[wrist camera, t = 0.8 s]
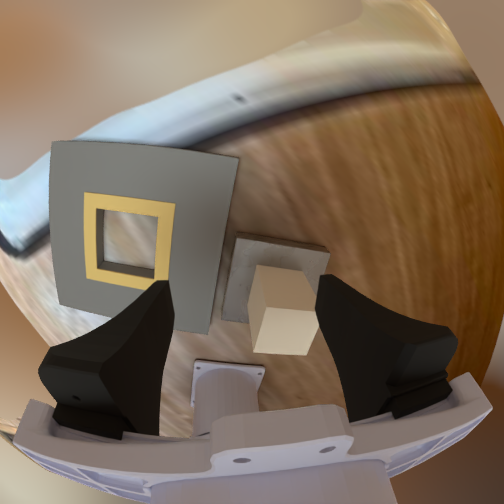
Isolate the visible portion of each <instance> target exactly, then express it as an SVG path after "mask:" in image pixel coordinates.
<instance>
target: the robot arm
mask: <svg viewBox="0 0 504 504" xmlns="http://www.w3.org/2000/svg"><path fill="white" fill-rule="evenodd" d="M315 312H316V316H317V320H318V323H319V326H320V329H321V331H322V333H323V336H324V338H325V340H326V342H327V345H328V347H329V349H330V352H331V354H332V356H333V358H334V361H335V364H336V367H337V370H338V374H339V377H340V381H341V385H342V389H343V393H344V397H345V402H346V407H347V412H348V418H349V421H348V418H347V415H346V413H345V410H344V408H342V407H339V406H337V405H334V404H321V405H313V406H307V407H299V408H292V409H283V410H273V411H261V412H259V405H258V397H257V392H258V389H259V386H260V384H261V381H262V378H263V376H264V373H265V367H263V366H252V365H240V364H229V363H220V362H211V361H203V360H196V361H195V362H194V371H193V382H192V393H191V407H194V415H193V432H192V436H191V437H190V438H176V437H164V436H159V417H160V397H161V386H162V376H163V370H164V366H165V362H166V358H167V354H168V350H169V346H170V342H171V338H172V334H173V328H174V319H175V312H174V306H173V301H172V296H171V290H170V284H169V280H156V281H155V282H154V283H153V284H152V285H151V286H150V287H149V288H147V289H146V290H145V291H144V292H143V293H142V294H141V295H140V296H139V297H138V298H137V299H136V300H135V301H133V302H132V303H131V304H130V305H129V306H127V307H126V308H125V309H124V310H123V311H122V312H120V313H119V314H118V315H116V316H115V317H114V318H112V319H111V320H109V321H108V322H106V323H105V324H103V325H101V326H99V327H98V328H96V329H94V330H92V331H91V332H89V333H87V334H85V335H83V336H80V337H78V338H76V339H73V340H71V341H68V342H65V343H62V344H59V345H56V346H53V347H50V349H49V350H48V352H47V354H46V356H45V358H44V359H43V361H42V363H41V365H40V367H39V369H38V374H39V377H40V379H41V381H42V383H43V384H44V386H45V387H46V388H47V390H48V391H49V393H50V394H51V395H52V396H53V398H54V399H55V400H56V402H57V405H56V408H53V407H52V406H50V405H48V404H45V403H43V402H40V401H37V400H34V399H30V401H29V403H28V405H27V407H26V409H25V412H24V414H23V416H22V419H21V421H20V424H19V426H18V429H17V431H16V434H15V437H14V439H13V444H14V445H15V446H17V447H18V448H19V449H20V450H21V451H23V452H24V453H25V454H26V455H28V456H29V457H30V458H31V459H33V460H34V461H35V462H37V463H38V464H39V465H41V466H42V467H44V468H45V469H47V470H49V471H51V472H54V473H56V474H58V475H61V476H63V477H66V478H68V479H71V480H73V481H76V482H78V483H81V484H83V485H87V486H89V487H92V488H95V489H97V490H100V491H103V492H107V493H110V494H113V495H116V496H120V497H123V498H127V499H131V500H135V501H140V502H143V503H148V504H397V501H396V498H395V495H394V492H393V489H392V486H391V483H390V480H389V478H391V477H393V476H395V475H397V474H400V473H402V472H404V471H406V470H408V469H410V468H412V467H413V466H416V465H418V464H420V463H421V462H423V461H425V460H427V459H429V458H431V457H432V456H434V455H436V454H438V453H439V452H441V451H443V450H445V449H446V448H448V447H449V446H451V445H453V444H455V443H456V442H458V441H459V440H461V439H463V438H464V437H465V436H466V435H467V434H468V433H469V432H470V431H472V430H473V429H474V428H475V427H476V426H477V425H478V424H479V423H480V422H481V421H482V419H484V417H486V415H487V414H488V413H489V412H490V411H491V410H492V406H491V404H490V403H489V401H488V399H487V398H486V396H485V395H484V393H483V392H482V390H481V389H480V387H479V386H478V384H477V383H476V381H475V380H474V379H473V377H472V376H471V374H470V373H469V372H467V373H465V374H463V375H461V376H459V377H457V378H455V379H453V380H452V381H450V382H449V383H448V382H447V380H446V378H447V376H448V373H447V372H446V370H445V368H446V367H447V365H448V363H449V362H450V360H451V359H452V357H453V355H454V353H455V351H456V349H457V345H458V339H457V338H456V336H455V335H454V334H453V332H452V331H451V330H450V329H449V328H448V327H446V326H441V325H435V324H430V323H426V322H422V321H419V320H415V319H412V318H409V317H406V316H404V315H401V314H398V313H396V312H394V311H392V310H389V309H387V308H385V307H383V306H381V305H379V304H378V303H376V302H374V301H372V300H371V299H369V298H367V297H366V296H364V295H363V294H361V293H359V292H358V291H356V290H355V289H353V288H352V287H350V286H349V285H348V284H346V283H345V282H343V281H342V280H340V279H339V278H337V277H336V276H334V275H332V274H327V275H320V277H319V284H318V290H317V297H316V303H315ZM260 372H261V373H260Z"/></svg>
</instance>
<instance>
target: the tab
mask: <svg viewBox="0 0 504 504" xmlns="http://www.w3.org/2000/svg"><path fill="white" fill-rule="evenodd" d="M330 254H331V253H330V252H329V251H328V250H327V248H326V247H324V246H318V245H312V244H307V243H301V242H295V241H289V240H284V239H278V238H272V237H266V236H260V235H254V234H248V233H242V232H236V236H235V241H234V246H233V251H232V257H231V262H230V267H229V273H228V278H227V283H226V289H225V294H224V300H223V305H222V312H221V320H226V321H234V322H242V323H249V315H248V307H247V304H248V300H249V295H250V291H251V287H252V283H253V279H254V274H255V270H256V266H257V265H263V266H269V267H276V268H283V269H290V270H297V271H303V273H304V275H305V276H306V278H307V280H308V282H309V284H310V286H311V288H312V290H313V291H314V293H315V295H317V290H318V284H319V277H320V275H324V272H325V269H326V266H327V263H328V260H329V257H330Z"/></svg>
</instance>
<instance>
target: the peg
mask: <svg viewBox="0 0 504 504" xmlns="http://www.w3.org/2000/svg"><path fill="white" fill-rule="evenodd" d="M315 303H316V295H315V293H314V291H313V290H312V288H311V286H310V284H309V282H308V280H307V278H306V276H305V275H304V273H303V271H297V270H290V269H283V268H276V267H269V266H263V265H257V266H256V270H255V274H254V279H253V283H252V287H251V291H250V295H249V300H248V304H247V307H248V315H249V323H250V330H251V338H252V346H253V352H256V353H269V354H286V355H307V352H308V350H309V348H310V346H311V343H312V341H313V339H314V336H315V334H316V332H317V329H318V327H319V323H318V320H317V316H316V312H315Z"/></svg>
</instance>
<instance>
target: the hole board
mask: <svg viewBox="0 0 504 504" xmlns="http://www.w3.org/2000/svg"><path fill="white" fill-rule="evenodd" d="M238 161H239V158H238V157H232V156H227V155H221V154H215V153H208V152H202V151H195V150H187V149H180V148H172V147H163V146H153V145H143V144H131V143H116V142H97V141H54V142H52V146H51V157H50V173H49V221H50V238H51V249H52V259H53V267H54V274H55V281H56V287H57V293H58V298H59V303H60V305H64V306H67V307H71V308H75V309H78V310H82V311H86V312H90V313H94V314H98V315H103V316H107V317H111V318H114V317H115V316H116V315H118V314H119V313H120V312H122V311H123V310H124V309H125V308H126V307H127V306H129V305H130V304H131V303H132V302H133V301H135V300H136V299H137V298H138V297H139V296H140V295H141V294H142V293H143V292H144V291H145V290H146V289H147V288H149V287H150V286H151V285H152V284H153V283H154V282H155V281H156V280H169V284H170V290H171V296H172V301H173V306H174V312H175V319H174V328H173V330H179V331H185V332H192V333H199V334H206V335H208V332H209V325H210V318H211V312H212V306H213V299H214V293H215V287H216V281H217V275H218V269H219V263H220V257H221V251H222V246H223V240H224V234H225V229H226V223H227V218H228V213H229V207H230V202H231V197H232V192H233V186H234V181H235V176H236V171H237V166H238ZM104 209H106V210H113V211H121V212H128V213H135V214H142V215H149V216H156V217H158V228H157V240H156V255H155V270H151V269H145V268H140V267H134V266H128V265H123V264H117V263H112V262H106V261H104V254H103V216H104Z"/></svg>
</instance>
